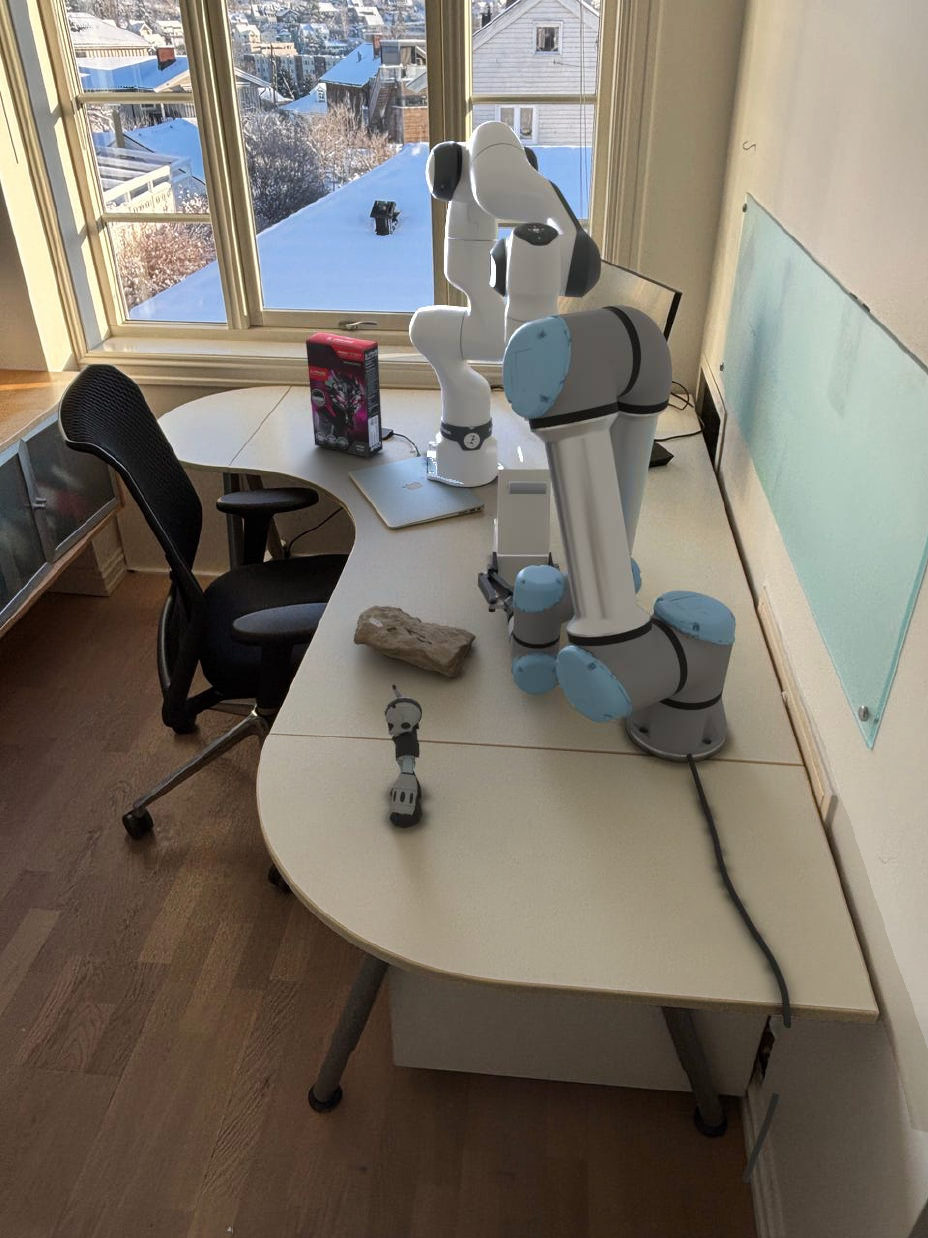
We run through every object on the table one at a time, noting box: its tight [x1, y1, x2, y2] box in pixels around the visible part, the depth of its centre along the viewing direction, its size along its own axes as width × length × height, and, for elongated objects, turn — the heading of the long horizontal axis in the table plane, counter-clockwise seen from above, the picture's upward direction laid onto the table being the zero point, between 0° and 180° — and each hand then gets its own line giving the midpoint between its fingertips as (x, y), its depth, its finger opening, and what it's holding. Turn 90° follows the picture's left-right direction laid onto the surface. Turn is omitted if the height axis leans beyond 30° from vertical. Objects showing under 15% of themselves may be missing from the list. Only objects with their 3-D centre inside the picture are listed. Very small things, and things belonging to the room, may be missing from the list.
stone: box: [353, 605, 477, 679], centre depth 158 cm, size 21×15×6 cm
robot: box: [383, 684, 423, 828], centre depth 123 cm, size 20×5×20 cm, turn 3°
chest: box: [492, 518, 549, 597], centre depth 179 cm, size 15×10×9 cm, turn 1°
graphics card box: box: [305, 331, 384, 458], centre depth 224 cm, size 17×7×27 cm, turn 62°
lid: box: [497, 468, 552, 555], centre depth 165 cm, size 16×10×9 cm
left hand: (527, 411), depth 159 cm, fingers open, 5 cm apart
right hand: (521, 557), depth 174 cm, fingers closed on chest, 9 cm apart
